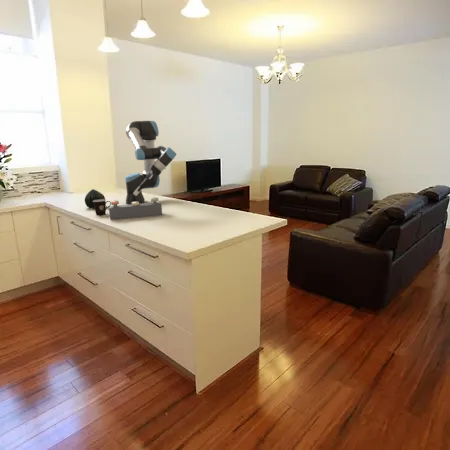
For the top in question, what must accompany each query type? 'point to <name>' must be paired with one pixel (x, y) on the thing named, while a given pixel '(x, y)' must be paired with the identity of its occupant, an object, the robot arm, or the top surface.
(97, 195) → the squash
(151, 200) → the button sage
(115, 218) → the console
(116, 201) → the button terracotta
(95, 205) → the coffee mug
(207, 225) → the top surface
